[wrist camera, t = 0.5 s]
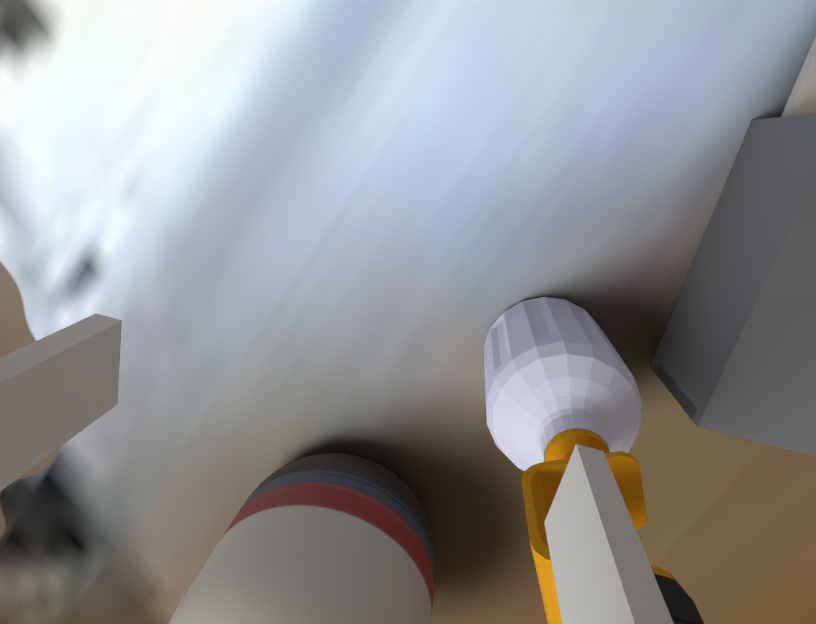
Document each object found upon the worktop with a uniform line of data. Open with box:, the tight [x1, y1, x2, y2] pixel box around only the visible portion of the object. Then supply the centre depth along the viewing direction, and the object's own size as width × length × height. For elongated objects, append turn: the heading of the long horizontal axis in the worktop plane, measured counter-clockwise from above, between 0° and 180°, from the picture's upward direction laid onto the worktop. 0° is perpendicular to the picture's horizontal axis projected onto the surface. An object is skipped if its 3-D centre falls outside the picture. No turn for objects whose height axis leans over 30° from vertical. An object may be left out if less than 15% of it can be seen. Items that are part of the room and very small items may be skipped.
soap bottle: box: [484, 297, 679, 624], centre depth 29 cm, size 9×9×25 cm
